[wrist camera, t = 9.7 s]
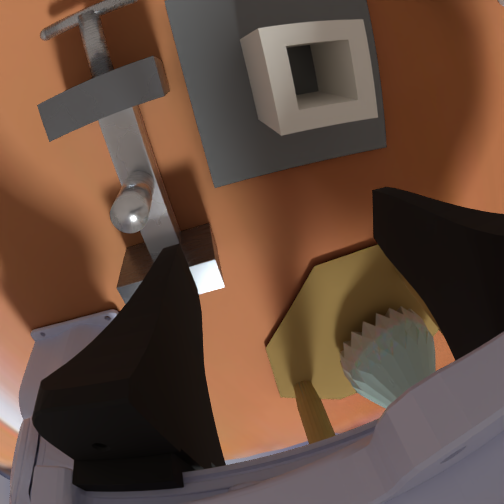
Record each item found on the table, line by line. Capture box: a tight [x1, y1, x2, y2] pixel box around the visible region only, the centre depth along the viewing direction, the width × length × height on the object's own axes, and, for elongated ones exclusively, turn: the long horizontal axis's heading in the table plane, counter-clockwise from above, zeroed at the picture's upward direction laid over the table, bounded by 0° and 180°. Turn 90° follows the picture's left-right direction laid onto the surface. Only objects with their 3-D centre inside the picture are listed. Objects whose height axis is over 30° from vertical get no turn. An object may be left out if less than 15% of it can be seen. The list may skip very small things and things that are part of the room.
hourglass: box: [266, 245, 443, 444], centre depth 21 cm, size 24×22×25 cm
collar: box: [240, 19, 378, 136], centre depth 15 cm, size 5×5×5 cm
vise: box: [37, 0, 225, 304], centre depth 15 cm, size 17×6×6 cm, turn 12°
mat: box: [165, 0, 387, 188], centre depth 17 cm, size 12×12×1 cm
